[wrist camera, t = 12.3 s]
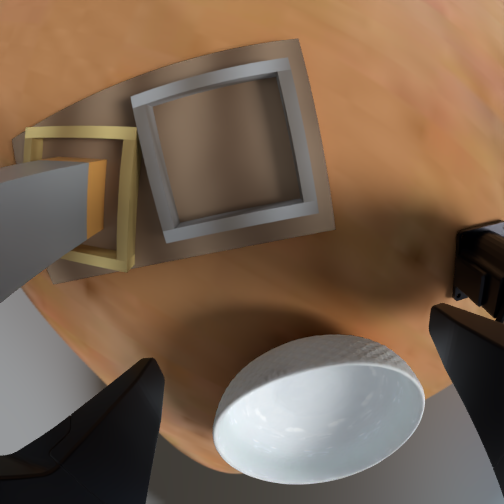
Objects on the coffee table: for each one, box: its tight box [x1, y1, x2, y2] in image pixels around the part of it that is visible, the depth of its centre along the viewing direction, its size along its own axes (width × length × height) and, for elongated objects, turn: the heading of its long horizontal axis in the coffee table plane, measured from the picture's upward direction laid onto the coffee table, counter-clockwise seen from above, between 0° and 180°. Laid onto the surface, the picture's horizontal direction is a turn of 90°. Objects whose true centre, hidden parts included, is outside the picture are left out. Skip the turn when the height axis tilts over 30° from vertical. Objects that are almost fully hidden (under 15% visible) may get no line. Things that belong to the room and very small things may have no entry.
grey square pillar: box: [0, 157, 107, 303], centre depth 13 cm, size 4×5×12 cm
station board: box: [12, 39, 336, 284], centre depth 18 cm, size 23×13×2 cm, turn 102°
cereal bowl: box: [213, 334, 425, 484], centre depth 23 cm, size 17×17×7 cm
